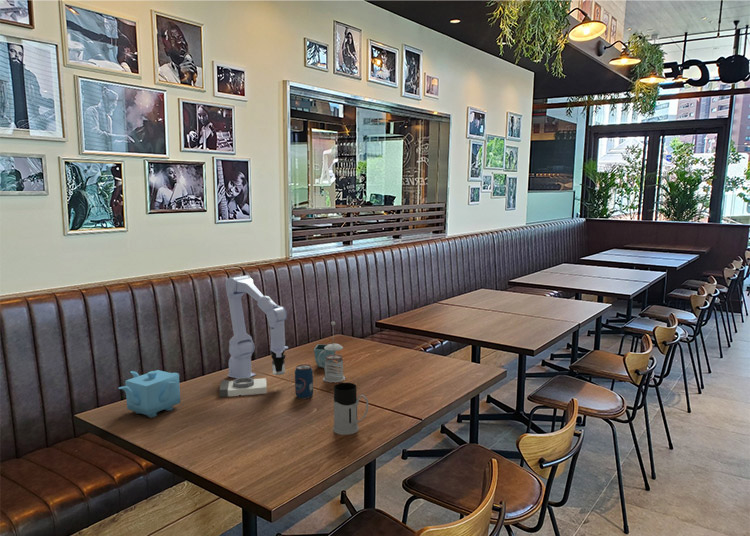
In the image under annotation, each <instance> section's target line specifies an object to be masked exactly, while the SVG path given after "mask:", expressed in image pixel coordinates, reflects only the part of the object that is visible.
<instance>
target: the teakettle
mask: <svg viewBox="0 0 750 536" xmlns="http://www.w3.org/2000/svg"><path fill="white" fill-rule="evenodd" d="M129 373H131V375H132V378H129V379H127V380H125V383H124V384H125V385H123V386H119V387H118V388H117V389H118V390H122V391H124V392H125V397H126V410H127V411H131V412H132V411H133V412H135V414H137V415H138V414H139V415H140V414H142V415H145V416H147V418H149V417H153V418H156V417H157V415H158V413H159V412H160V411H163V410H165V411H166V412H167V411H169V412H170V411H172V410H174V407H173V406H175V405H178V404H180V403H181V402H182V401H181V389H180V387H181V386H180V385H181V384H180V374H179V373H178V372H169V371H164V370H159V369H156V370H152V371H149V372H147V373H144V374H142V375H139V373H138V371H134V370H131V371H130V372H129ZM155 416H156V417H155Z"/></svg>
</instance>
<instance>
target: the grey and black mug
mask: <svg viewBox="0 0 750 536" xmlns="http://www.w3.org/2000/svg"><path fill="white" fill-rule="evenodd" d="M361 397H363V398H364V400H365V403H366V405H365V406H366V409H365V412H364V415H363V416H362V417H361V418H360V419H359V420H358V406H359V403H360V398H361ZM368 411H369V401H368V398H367V397H366V395H364V394H360V395H358V396H357V384H355V383H352V382H338V383H337V384H334V386H333V425H334V426H333V427H332V431H333V433H335V434H337V435H341V436H343V435H345V436H348V435H354V434H355V433H357V432H359V430H360V429H359V426H358V425H359V424H358V423H360V422H362V420H364V419H365V418H366V416H367V414H368Z"/></svg>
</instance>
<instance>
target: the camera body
mask: <svg viewBox="0 0 750 536" xmlns="http://www.w3.org/2000/svg"><path fill="white" fill-rule="evenodd" d="M220 381H221V382H220V388H219V398H227V397H228V396H229V397H239V395H241V396H250V395H253V396H254V395H262V394H267V393H268V390H267V389H268V387H267V378H266V377H263V378H252V377H245V378H238V379H237V378H235V379H233V380H230V379H223V380H220Z"/></svg>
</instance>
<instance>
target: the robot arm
mask: <svg viewBox="0 0 750 536" xmlns="http://www.w3.org/2000/svg"><path fill="white" fill-rule="evenodd" d="M254 283H255V282H254V279H253V278H251V276H250V275H248V274H245V275H241V276H234V277H228V278H227V280H226V281H225V290H226V296H227V299H228V300H227V301H228V307H229V314H230V319H231V325H232V331H233V333H232V334H233V336H232V337H231V338H230V339H229V341H228V343H229V347H228V352H229V355H230V357H229V359H228V374H227V377H230V378H233V379H238V378H245V377H249V378H252V377H254V376H256V375H257V374H256V373H255V372H252V356H253V353H254V352H255V347H256V346H255V343H254V340H253V337H252V335H250V334H248V333H247V328H246V321H245V315H244V309H243V303H242V297H243V296H244V294H245V293H247V294H248V295H249V296H250V297H252V299H254V300H255V301H256V302H257V307H258V308H259V309H260V310H261V311H262V312H263V313H264V315H266V319H267V322H268V326H269V329H270V330H269V332H270V334H269V335H270V349H269V350H270V353H271V355H270V358H271V359H272V361H274V364H275V369H276V372H281V371H282V367H283V361H284V360H285V359H286V354H284V353H285V351H286V350H289V346H288V345H287V346H286V338H285V335H286V332H285V321H287V318H288V311H287V309H286V308H285V306H280V305H278V304H277V303H275V301H274V300H273V299H272V298H271V297H270V296H268V295H264V294H263V293H262V292H261V291H260V290H259V289H258V287H257V286H256V285H255V284H254Z"/></svg>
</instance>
